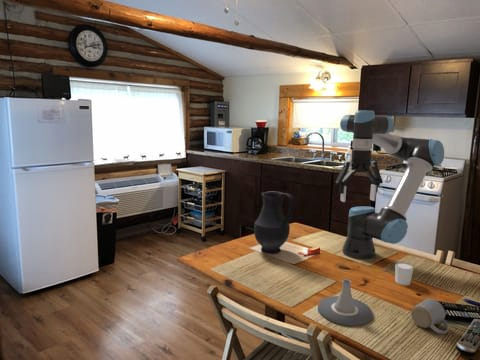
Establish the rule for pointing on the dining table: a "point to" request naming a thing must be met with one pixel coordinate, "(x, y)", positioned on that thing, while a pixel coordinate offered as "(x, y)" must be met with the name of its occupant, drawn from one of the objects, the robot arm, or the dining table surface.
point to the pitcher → (273, 222)
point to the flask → (345, 299)
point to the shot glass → (403, 273)
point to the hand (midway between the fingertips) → (357, 200)
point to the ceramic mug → (429, 315)
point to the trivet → (347, 319)
